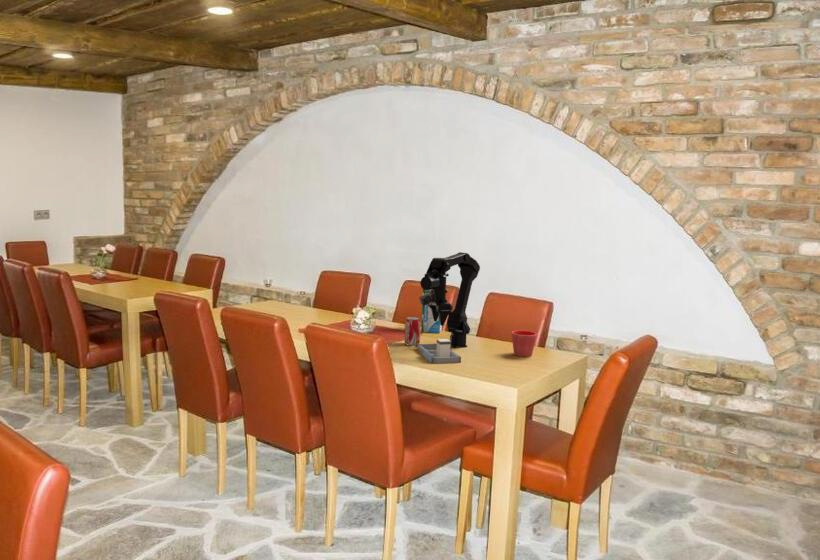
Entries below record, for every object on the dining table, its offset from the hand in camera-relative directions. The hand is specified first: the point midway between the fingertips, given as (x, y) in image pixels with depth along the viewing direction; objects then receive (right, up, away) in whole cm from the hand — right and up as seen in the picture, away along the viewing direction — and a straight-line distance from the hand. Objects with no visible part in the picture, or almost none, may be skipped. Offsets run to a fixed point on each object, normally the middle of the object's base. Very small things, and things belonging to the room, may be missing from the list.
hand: (438, 323), depth 301 cm
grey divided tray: (0, -13, -5) cm, 14 cm away
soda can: (-11, -11, +16) cm, 22 cm away
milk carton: (-1, -7, +48) cm, 48 cm away
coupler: (+1, -14, -10) cm, 18 cm away
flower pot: (+37, -14, +2) cm, 39 cm away
